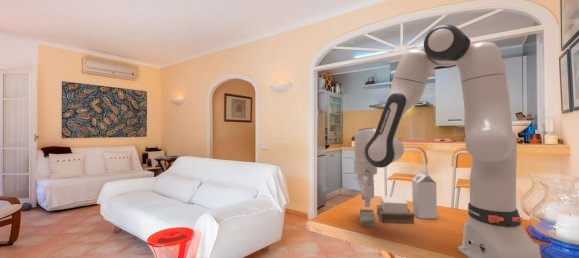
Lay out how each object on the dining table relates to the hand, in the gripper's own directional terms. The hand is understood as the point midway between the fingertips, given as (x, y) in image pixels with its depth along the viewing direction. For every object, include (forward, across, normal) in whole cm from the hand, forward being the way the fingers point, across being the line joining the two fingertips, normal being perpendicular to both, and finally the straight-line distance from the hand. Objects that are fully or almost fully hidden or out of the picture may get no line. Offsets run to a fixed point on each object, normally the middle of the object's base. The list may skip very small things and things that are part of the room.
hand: (365, 202), depth 104 cm
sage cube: (+8, 0, -1) cm, 8 cm away
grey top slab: (+5, +8, -13) cm, 16 cm away
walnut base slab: (+9, +7, -13) cm, 17 cm away
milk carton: (+8, +11, -26) cm, 29 cm away
